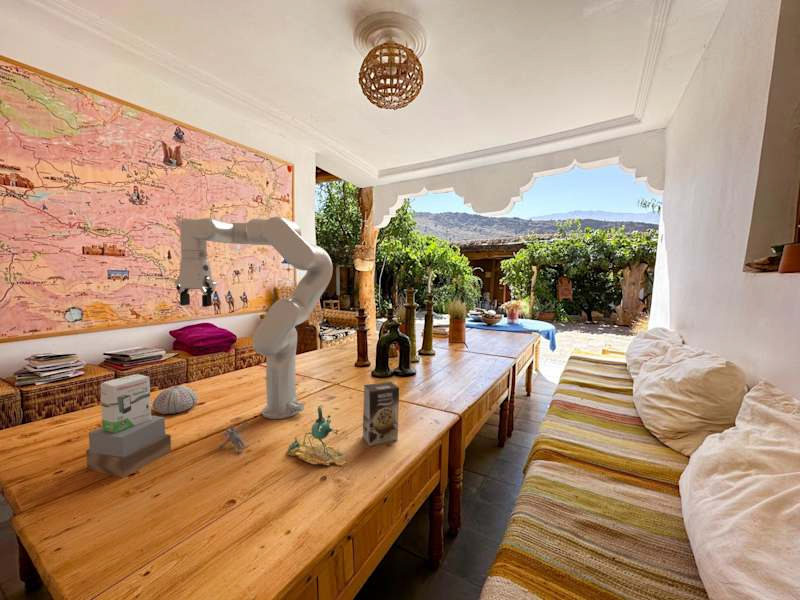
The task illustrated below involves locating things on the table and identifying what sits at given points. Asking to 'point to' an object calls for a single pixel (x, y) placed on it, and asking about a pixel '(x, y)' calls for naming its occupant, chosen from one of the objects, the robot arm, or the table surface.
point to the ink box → (125, 402)
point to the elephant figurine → (234, 438)
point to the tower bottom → (129, 458)
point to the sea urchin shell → (175, 400)
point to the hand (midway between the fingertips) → (195, 305)
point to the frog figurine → (317, 445)
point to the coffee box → (380, 413)
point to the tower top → (126, 438)
